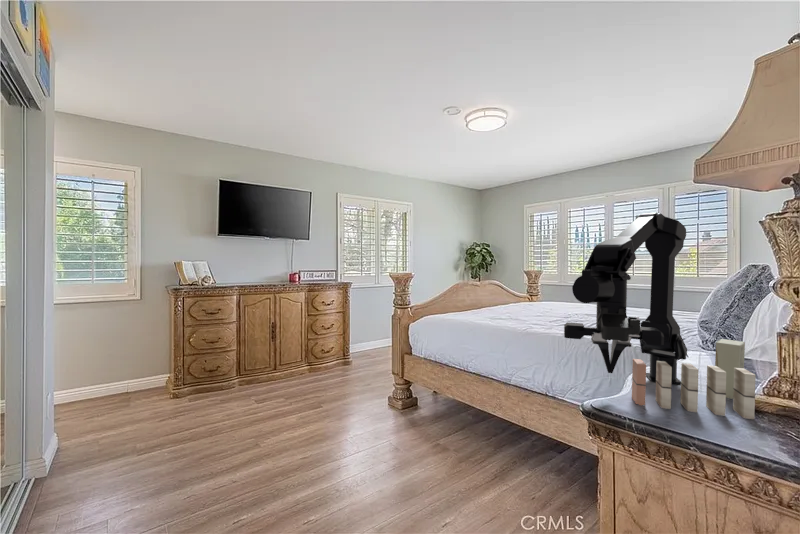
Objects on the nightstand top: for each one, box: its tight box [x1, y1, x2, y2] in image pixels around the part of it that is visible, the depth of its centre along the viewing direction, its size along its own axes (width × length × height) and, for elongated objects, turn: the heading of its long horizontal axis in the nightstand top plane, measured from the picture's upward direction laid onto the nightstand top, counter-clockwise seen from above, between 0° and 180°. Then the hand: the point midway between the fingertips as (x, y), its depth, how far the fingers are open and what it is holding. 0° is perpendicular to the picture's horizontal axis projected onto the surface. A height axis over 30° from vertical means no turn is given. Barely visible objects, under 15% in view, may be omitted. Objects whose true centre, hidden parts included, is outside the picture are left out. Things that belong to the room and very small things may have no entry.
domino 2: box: [680, 362, 700, 413], centre depth 82 cm, size 5×2×8 cm, turn 159°
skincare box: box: [714, 338, 746, 400], centre depth 90 cm, size 6×4×12 cm
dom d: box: [705, 364, 727, 417], centre depth 80 cm, size 5×2×8 cm, turn 159°
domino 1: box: [631, 358, 647, 406], centre depth 85 cm, size 5×2×8 cm, turn 159°
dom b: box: [655, 361, 672, 410], centre depth 84 cm, size 5×2×8 cm, turn 159°
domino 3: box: [732, 367, 757, 420], centre depth 79 cm, size 5×2×8 cm, turn 159°
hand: (609, 372), depth 87 cm, fingers closed
